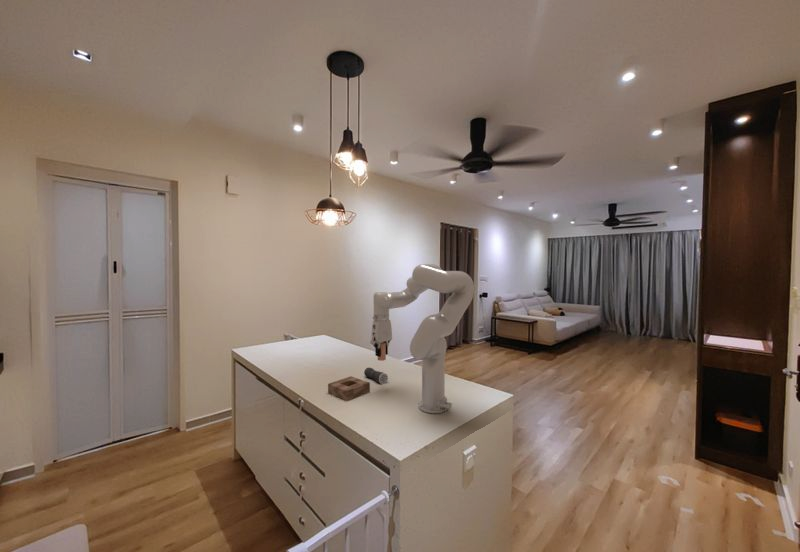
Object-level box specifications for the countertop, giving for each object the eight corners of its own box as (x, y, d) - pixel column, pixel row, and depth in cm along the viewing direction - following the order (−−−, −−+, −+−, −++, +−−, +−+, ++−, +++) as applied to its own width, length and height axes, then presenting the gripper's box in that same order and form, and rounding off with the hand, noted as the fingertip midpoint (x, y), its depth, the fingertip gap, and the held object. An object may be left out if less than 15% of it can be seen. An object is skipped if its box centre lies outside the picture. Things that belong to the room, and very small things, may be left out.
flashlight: (363, 377, 171) (363, 367, 171) (371, 375, 174) (371, 365, 174) (379, 385, 159) (379, 374, 159) (388, 382, 162) (387, 372, 162)
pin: (387, 359, 152) (387, 343, 152) (381, 361, 149) (381, 344, 149) (381, 357, 155) (381, 341, 155) (375, 359, 152) (375, 343, 152)
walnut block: (369, 391, 150) (369, 382, 150) (346, 401, 139) (346, 391, 139) (351, 385, 159) (351, 376, 159) (328, 393, 148) (328, 383, 148)
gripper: (374, 320, 143) (374, 360, 143) (398, 316, 155) (398, 353, 156) (363, 318, 148) (363, 357, 148) (387, 315, 160) (388, 350, 161)
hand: (381, 354), depth 152 cm, fingers closed on pin, 4 cm apart
